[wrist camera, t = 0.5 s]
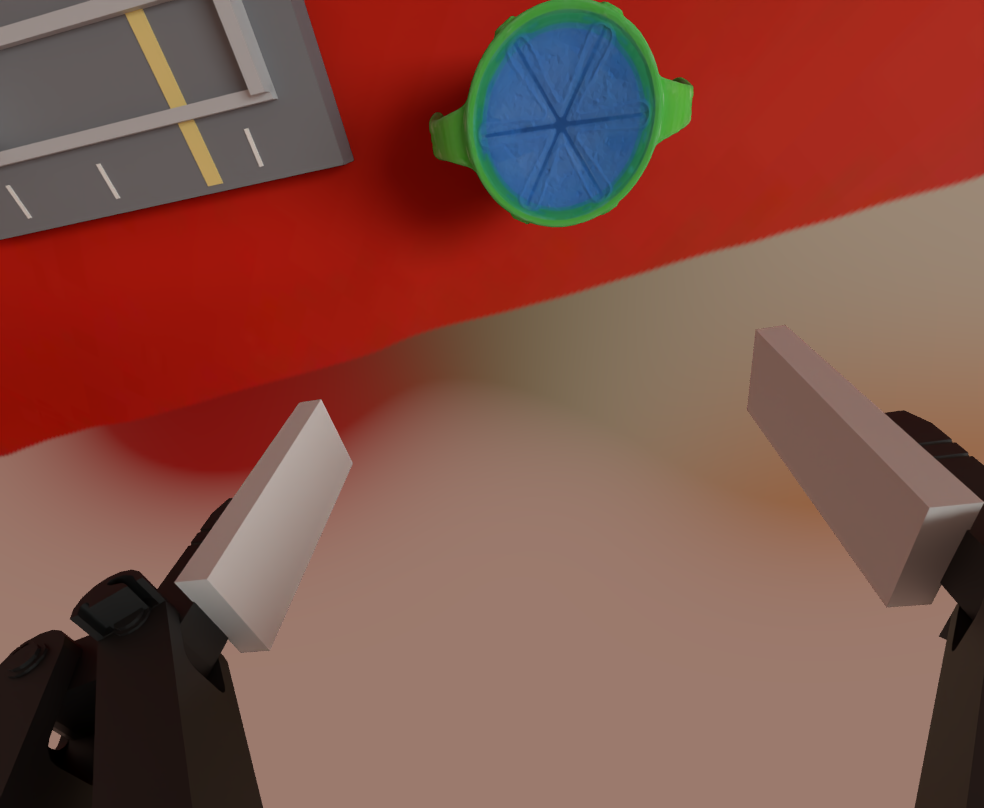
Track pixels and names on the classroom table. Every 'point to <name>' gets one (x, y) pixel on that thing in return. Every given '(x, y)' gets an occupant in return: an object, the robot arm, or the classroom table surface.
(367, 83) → the classroom table surface
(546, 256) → the classroom table surface
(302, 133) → the panel
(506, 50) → the snack cup
